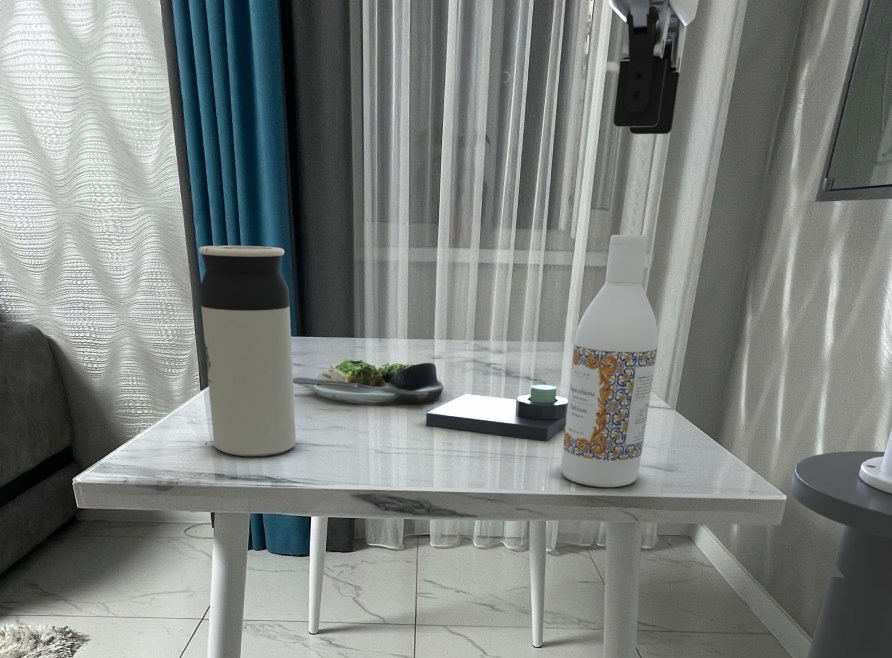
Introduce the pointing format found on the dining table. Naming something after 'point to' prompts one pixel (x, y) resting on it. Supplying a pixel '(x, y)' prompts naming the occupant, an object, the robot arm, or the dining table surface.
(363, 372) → the salad plate
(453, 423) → the scale
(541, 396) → the button
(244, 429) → the travel mug
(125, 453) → the dining table surface
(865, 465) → the robot arm
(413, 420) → the dining table surface
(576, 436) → the bath foam
